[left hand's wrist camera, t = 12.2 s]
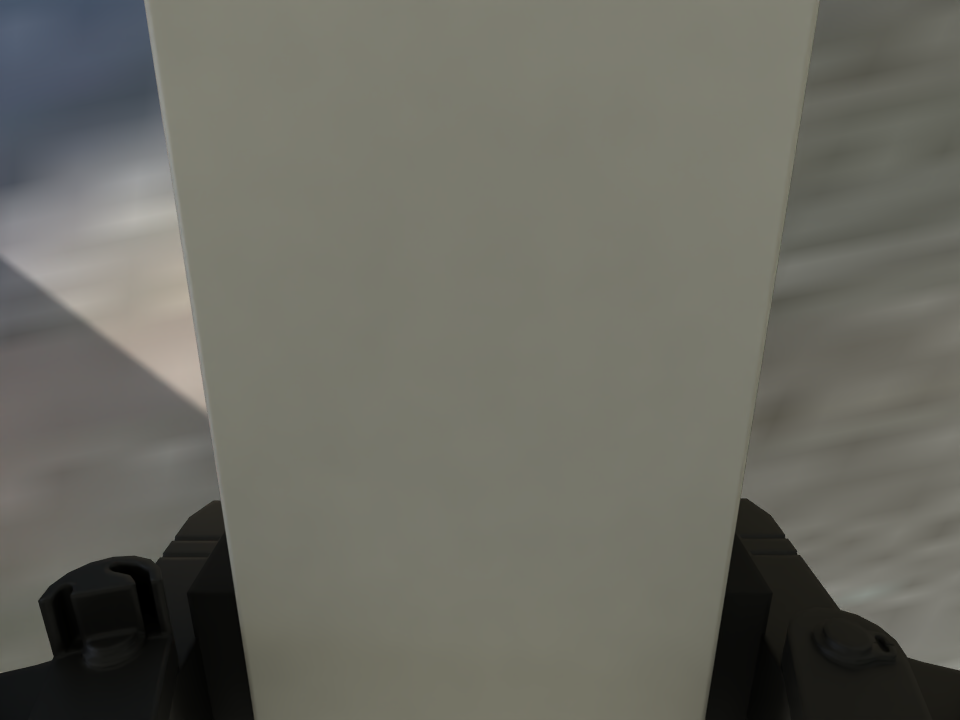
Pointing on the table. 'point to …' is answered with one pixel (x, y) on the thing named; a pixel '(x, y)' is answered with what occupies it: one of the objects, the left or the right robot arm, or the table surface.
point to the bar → (480, 335)
